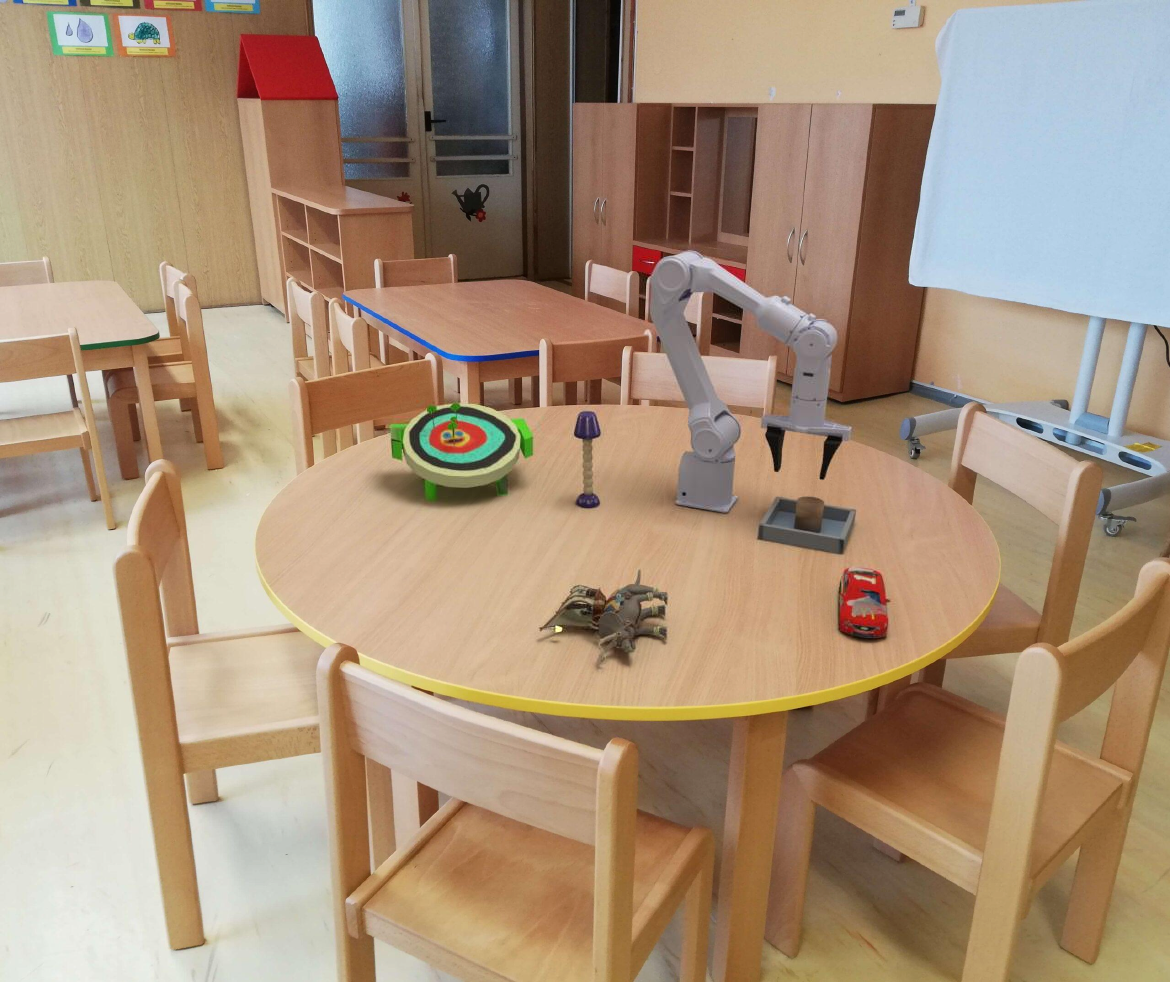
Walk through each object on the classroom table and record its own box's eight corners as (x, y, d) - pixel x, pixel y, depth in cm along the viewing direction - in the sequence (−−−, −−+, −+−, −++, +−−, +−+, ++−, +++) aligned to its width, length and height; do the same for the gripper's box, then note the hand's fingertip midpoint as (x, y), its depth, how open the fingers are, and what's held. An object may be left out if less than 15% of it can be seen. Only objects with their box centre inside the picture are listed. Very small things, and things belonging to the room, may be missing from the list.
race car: (887, 647, 123) (892, 614, 121) (834, 639, 124) (839, 607, 123) (885, 591, 137) (890, 561, 136) (838, 585, 139) (842, 555, 137)
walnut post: (791, 531, 155) (794, 503, 154) (796, 522, 159) (799, 494, 157) (818, 536, 154) (821, 508, 152) (822, 526, 158) (826, 499, 156)
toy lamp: (575, 509, 163) (577, 417, 157) (570, 499, 167) (572, 409, 161) (602, 507, 164) (605, 416, 158) (596, 497, 168) (599, 408, 162)
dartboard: (395, 512, 160) (390, 422, 154) (392, 474, 177) (388, 392, 171) (539, 503, 165) (540, 416, 160) (523, 467, 182) (523, 387, 176)
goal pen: (757, 538, 153) (759, 524, 152) (775, 509, 165) (776, 496, 164) (842, 554, 148) (844, 539, 148) (854, 523, 160) (856, 509, 159)
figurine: (673, 637, 113) (534, 634, 114) (670, 678, 116) (535, 675, 116) (665, 557, 132) (545, 554, 132) (663, 594, 134) (545, 591, 134)
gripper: (759, 396, 152) (751, 474, 157) (850, 408, 147) (839, 489, 152) (769, 385, 158) (761, 461, 163) (857, 397, 153) (846, 475, 158)
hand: (799, 473), depth 158 cm, fingers open, 7 cm apart
